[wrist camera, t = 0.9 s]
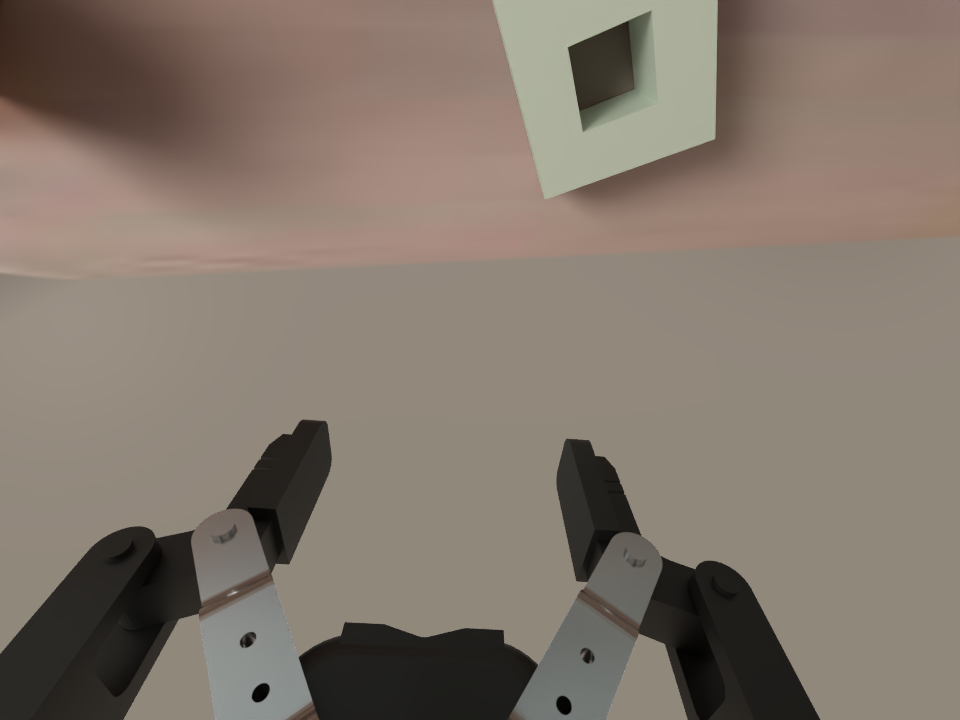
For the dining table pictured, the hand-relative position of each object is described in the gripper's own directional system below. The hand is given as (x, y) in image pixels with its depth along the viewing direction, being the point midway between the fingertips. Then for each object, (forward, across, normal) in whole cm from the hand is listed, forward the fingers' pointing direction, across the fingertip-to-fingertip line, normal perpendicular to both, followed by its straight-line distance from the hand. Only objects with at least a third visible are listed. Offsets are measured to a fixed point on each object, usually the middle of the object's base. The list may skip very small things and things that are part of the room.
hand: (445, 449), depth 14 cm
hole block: (+23, -8, -14) cm, 28 cm away
